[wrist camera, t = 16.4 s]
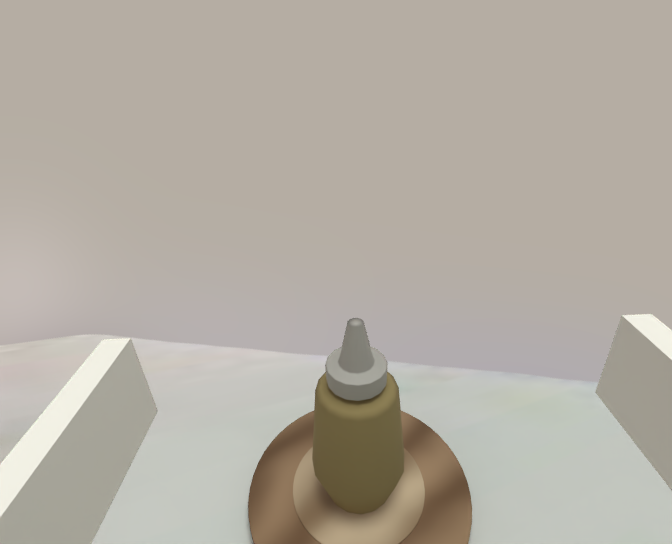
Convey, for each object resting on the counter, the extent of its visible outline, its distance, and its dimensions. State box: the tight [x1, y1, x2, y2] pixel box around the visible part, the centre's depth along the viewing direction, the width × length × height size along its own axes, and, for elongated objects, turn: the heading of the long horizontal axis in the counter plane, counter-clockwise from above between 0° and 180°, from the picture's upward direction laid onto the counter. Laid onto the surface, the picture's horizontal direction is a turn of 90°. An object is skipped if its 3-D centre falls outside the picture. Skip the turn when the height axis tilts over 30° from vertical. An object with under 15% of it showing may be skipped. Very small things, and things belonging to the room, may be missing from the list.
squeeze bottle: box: [312, 318, 404, 514], centre depth 32 cm, size 8×8×18 cm
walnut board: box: [248, 411, 472, 544], centre depth 37 cm, size 20×20×2 cm
